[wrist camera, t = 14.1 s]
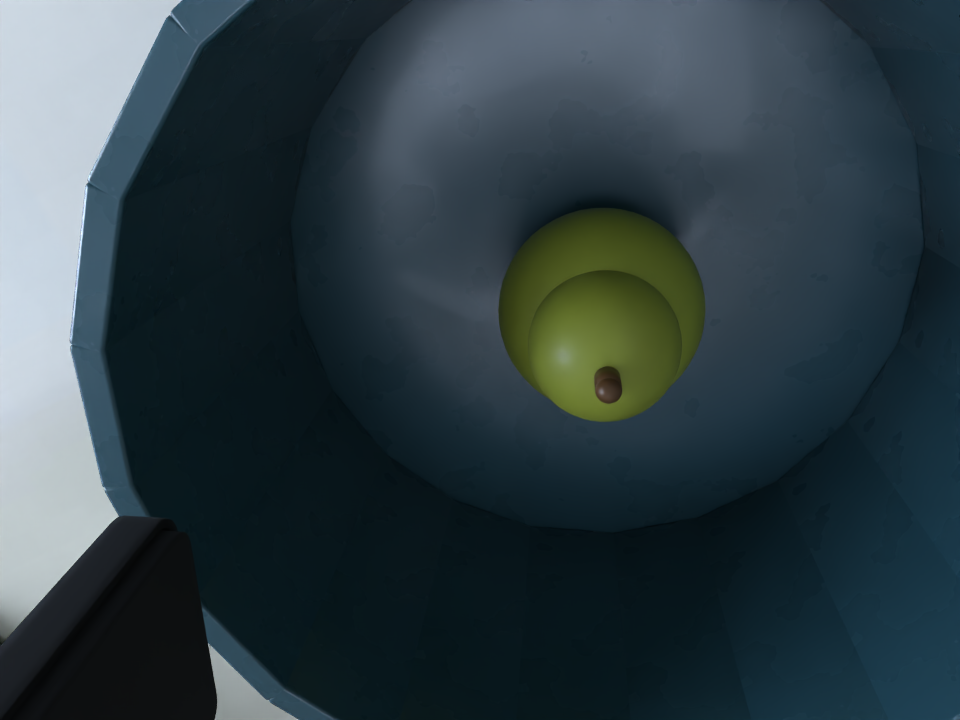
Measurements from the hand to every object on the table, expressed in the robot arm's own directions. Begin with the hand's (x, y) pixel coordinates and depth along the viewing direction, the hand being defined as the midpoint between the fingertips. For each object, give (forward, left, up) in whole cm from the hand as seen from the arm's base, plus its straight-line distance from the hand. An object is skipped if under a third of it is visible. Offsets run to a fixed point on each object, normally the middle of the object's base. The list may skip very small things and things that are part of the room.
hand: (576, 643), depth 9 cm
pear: (+1, 0, -13) cm, 13 cm away
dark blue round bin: (+1, 0, -13) cm, 13 cm away
